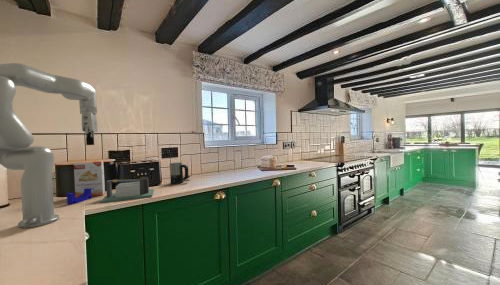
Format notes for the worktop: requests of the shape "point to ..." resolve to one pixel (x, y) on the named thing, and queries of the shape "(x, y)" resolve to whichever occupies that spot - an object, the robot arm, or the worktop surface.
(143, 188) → the heatsink board
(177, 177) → the milk frother
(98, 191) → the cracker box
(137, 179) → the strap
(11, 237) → the worktop surface
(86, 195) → the cable clip
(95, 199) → the worktop surface
